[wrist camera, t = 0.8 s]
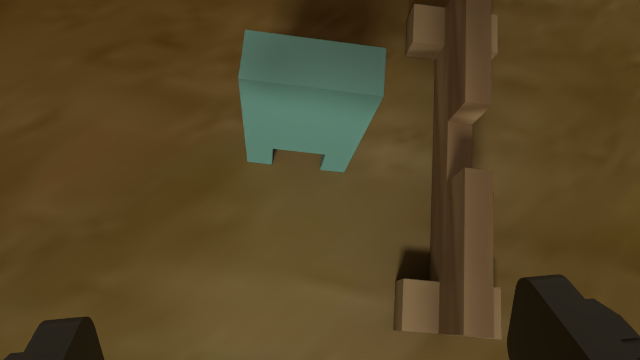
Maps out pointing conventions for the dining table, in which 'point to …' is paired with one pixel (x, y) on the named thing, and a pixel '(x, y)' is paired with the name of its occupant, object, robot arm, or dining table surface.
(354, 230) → the dining table surface
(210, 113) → the dining table surface
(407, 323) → the slotted rail
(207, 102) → the dining table surface
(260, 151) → the slotted tab
